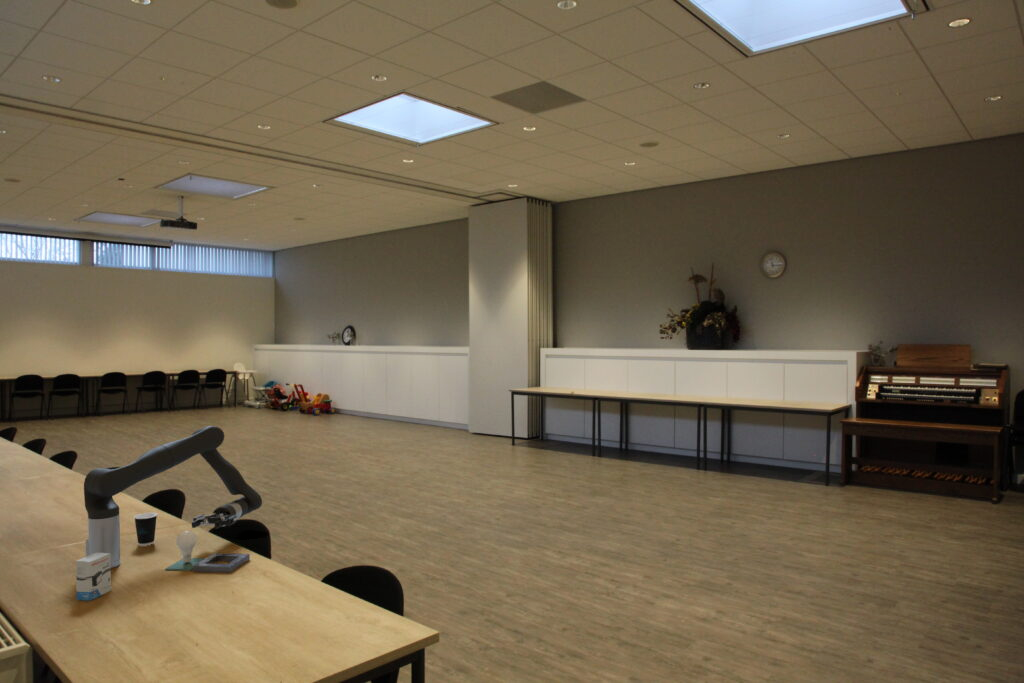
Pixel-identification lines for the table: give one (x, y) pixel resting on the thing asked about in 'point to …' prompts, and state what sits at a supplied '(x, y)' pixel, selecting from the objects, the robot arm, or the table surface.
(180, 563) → the mat
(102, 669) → the table surface
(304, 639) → the table surface
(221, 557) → the holder
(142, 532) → the dixie cup
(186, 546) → the lightbulb
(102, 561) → the ink box
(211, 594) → the table surface
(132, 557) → the table surface
